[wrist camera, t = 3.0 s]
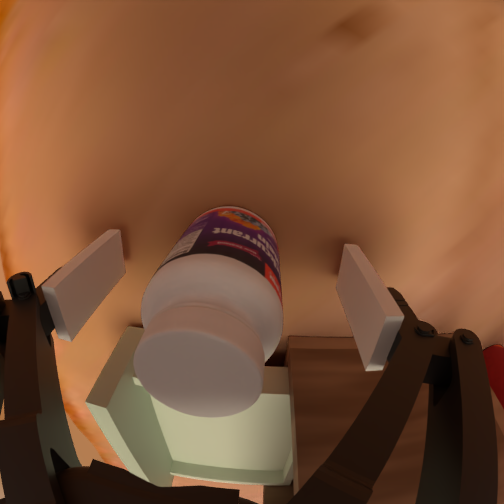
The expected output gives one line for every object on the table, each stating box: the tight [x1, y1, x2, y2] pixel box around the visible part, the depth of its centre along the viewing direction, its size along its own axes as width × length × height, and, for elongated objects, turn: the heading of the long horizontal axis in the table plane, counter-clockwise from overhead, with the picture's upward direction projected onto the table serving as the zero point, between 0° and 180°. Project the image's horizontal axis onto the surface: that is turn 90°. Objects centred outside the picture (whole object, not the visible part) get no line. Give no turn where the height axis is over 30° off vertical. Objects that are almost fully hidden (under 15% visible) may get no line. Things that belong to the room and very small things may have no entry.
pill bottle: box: [133, 206, 283, 418], centre depth 12 cm, size 5×5×10 cm
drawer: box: [85, 326, 293, 487], centre depth 20 cm, size 20×16×7 cm
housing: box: [263, 333, 504, 504], centre depth 16 cm, size 20×14×15 cm
